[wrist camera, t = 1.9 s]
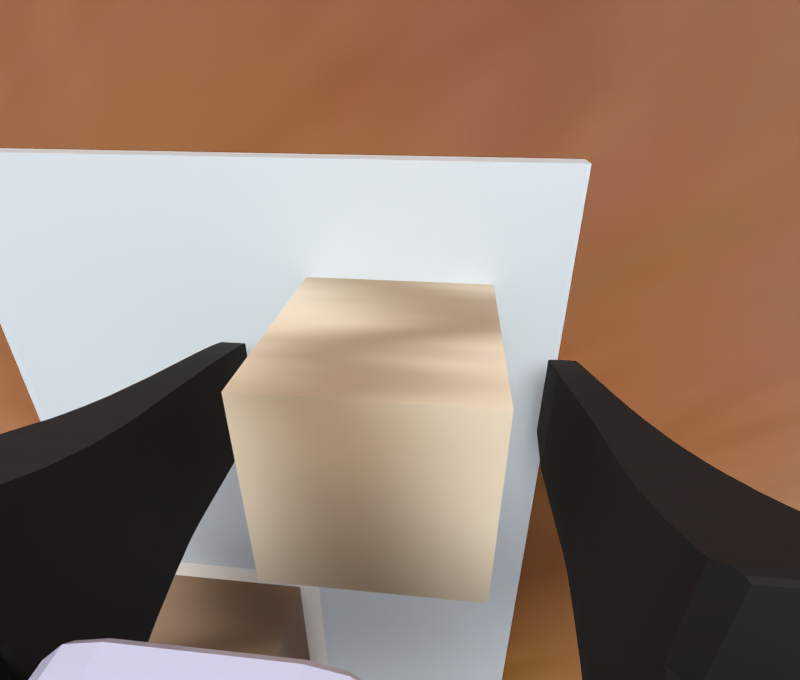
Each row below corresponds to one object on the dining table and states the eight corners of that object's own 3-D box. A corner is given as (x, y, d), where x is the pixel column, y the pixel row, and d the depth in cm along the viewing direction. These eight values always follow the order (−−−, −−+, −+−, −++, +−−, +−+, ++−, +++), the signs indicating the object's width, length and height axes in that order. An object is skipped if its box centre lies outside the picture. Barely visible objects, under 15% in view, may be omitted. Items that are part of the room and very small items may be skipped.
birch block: (493, 284, 12) (513, 410, 7) (478, 436, 14) (487, 603, 10) (306, 277, 12) (221, 391, 8) (319, 425, 14) (258, 581, 10)
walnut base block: (299, 587, 18) (261, 712, 14) (311, 668, 20) (280, 793, 17) (165, 573, 18) (96, 692, 15) (192, 654, 21) (137, 773, 17)
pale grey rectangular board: (584, 159, 11) (591, 163, 10) (493, 706, 21) (494, 722, 21) (-48, 147, 12) (-72, 150, 12) (155, 667, 23) (148, 682, 22)
